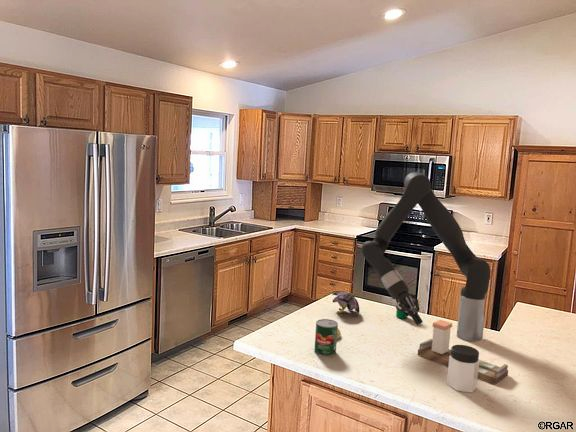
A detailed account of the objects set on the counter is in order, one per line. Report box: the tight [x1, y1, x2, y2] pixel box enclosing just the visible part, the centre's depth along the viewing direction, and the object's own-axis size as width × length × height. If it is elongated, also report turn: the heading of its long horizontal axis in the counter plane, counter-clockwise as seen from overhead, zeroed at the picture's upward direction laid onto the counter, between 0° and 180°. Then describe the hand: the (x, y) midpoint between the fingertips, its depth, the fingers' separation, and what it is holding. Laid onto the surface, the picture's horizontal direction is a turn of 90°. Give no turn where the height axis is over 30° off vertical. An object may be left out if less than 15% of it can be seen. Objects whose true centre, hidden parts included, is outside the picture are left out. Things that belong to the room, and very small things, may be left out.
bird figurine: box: [331, 290, 360, 317], centre depth 204 cm, size 15×12×15 cm
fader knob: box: [432, 319, 453, 354], centre depth 162 cm, size 5×6×10 cm
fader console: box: [417, 338, 509, 386], centre depth 156 cm, size 28×10×4 cm, turn 44°
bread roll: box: [337, 328, 342, 340], centre depth 177 cm, size 8×9×4 cm
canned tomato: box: [313, 318, 339, 358], centre depth 161 cm, size 8×8×11 cm
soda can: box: [395, 291, 410, 320], centre depth 203 cm, size 5×5×12 cm
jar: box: [446, 344, 480, 394], centre depth 141 cm, size 9×8×12 cm
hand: (420, 323), depth 167 cm, fingers closed
